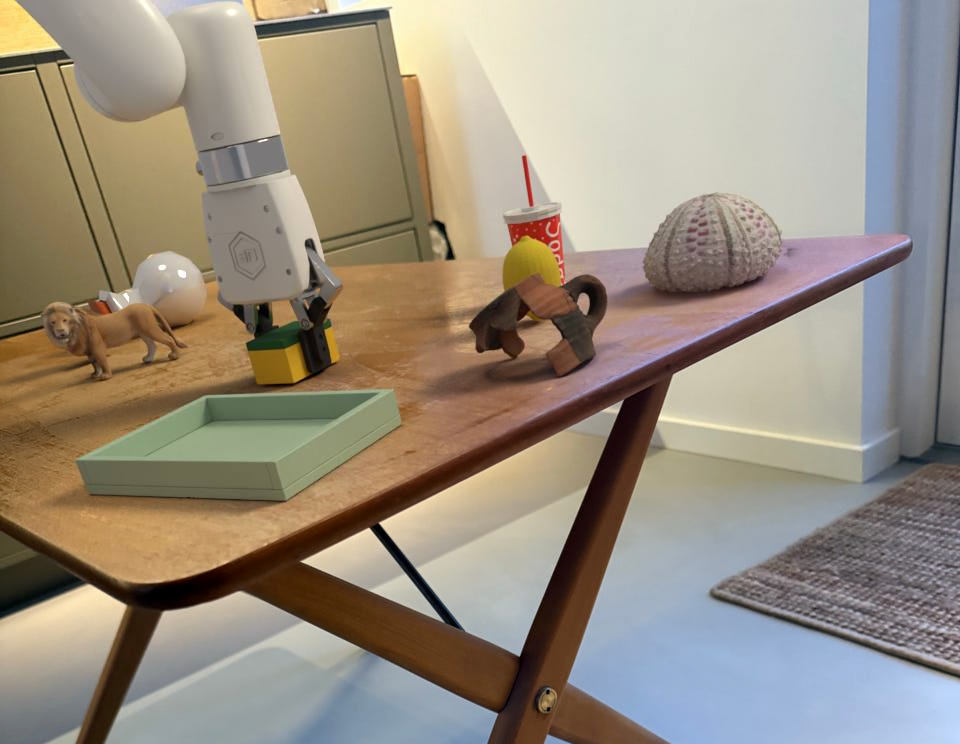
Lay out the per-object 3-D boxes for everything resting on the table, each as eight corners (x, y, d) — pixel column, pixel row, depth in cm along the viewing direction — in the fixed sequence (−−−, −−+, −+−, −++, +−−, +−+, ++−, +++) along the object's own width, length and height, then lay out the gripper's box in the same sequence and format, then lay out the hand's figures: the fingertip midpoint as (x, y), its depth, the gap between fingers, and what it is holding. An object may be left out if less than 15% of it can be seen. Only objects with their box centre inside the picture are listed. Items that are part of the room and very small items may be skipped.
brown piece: (538, 395, 80) (476, 306, 79) (502, 424, 89) (447, 344, 88) (650, 315, 83) (592, 228, 82) (605, 351, 92) (552, 273, 91)
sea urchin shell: (736, 299, 93) (730, 206, 89) (617, 300, 102) (607, 214, 99) (809, 263, 101) (806, 175, 97) (691, 266, 110) (685, 186, 106)
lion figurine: (73, 392, 113) (41, 309, 108) (61, 386, 117) (29, 306, 112) (197, 353, 119) (171, 273, 115) (180, 349, 123) (155, 271, 119)
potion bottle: (225, 323, 141) (126, 368, 136) (187, 280, 144) (89, 322, 139) (217, 270, 133) (111, 316, 128) (177, 225, 136) (73, 268, 131)
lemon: (536, 313, 104) (523, 230, 100) (577, 314, 100) (566, 227, 96) (498, 329, 101) (484, 244, 97) (539, 330, 97) (526, 242, 93)
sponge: (257, 384, 98) (245, 342, 96) (304, 361, 104) (293, 320, 102) (294, 383, 96) (282, 340, 94) (340, 359, 101) (330, 318, 100)
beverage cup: (537, 307, 106) (514, 161, 100) (506, 303, 111) (482, 163, 105) (585, 292, 109) (566, 147, 102) (553, 288, 113) (533, 150, 107)
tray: (88, 494, 78) (74, 459, 77) (215, 426, 89) (205, 395, 87) (286, 501, 68) (274, 461, 67) (402, 424, 79) (394, 388, 77)
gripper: (148, 185, 93) (209, 384, 101) (293, 160, 84) (346, 379, 93) (203, 171, 98) (257, 361, 107) (345, 146, 90) (391, 354, 98)
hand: (298, 367), depth 100 cm, fingers closed on sponge, 4 cm apart
